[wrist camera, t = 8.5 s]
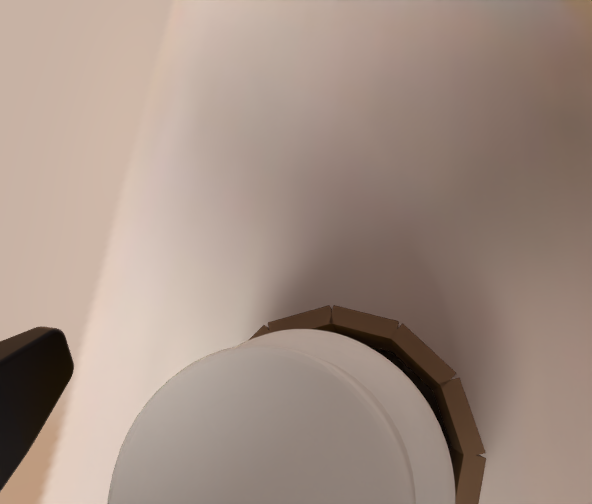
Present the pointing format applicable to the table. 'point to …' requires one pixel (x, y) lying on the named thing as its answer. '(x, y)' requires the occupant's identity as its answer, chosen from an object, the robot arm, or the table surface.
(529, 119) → the table surface
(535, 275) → the table surface
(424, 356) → the holder
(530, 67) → the table surface
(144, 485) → the supplement bottle
